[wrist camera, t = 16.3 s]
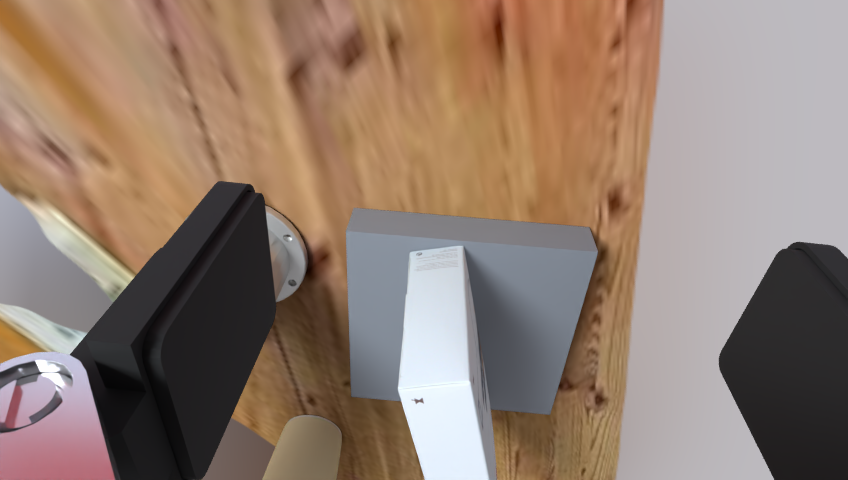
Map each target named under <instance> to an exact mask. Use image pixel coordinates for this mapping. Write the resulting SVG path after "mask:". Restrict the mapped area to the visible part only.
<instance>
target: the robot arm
mask: <svg viewBox="0 0 848 480" xmlns="http://www.w3.org/2000/svg"><path fill="white" fill-rule="evenodd" d="M307 265H308V257H307V250H306V247H305V244H304V242H303V240H302V238H301V236H300V234H299V232H298V231H297V230H296V229H295V228H294V226H293V225H292V224H291V223H290V222H289V221H288V220H287V219H286V218H285V217H284V216H282V215H281V214H280V213H278V212H277V211H275V210H273V209H272V208H270V207H268V206H266V205H265V200H264V197H263V195H262V194H261V193H255V190H254V188H253V186H252V185H251V184H242V183H233V182H223V181H219V182H217V183H216V184H215V185H214V186H213V188H212V189H211V190H210V191H209V192H208V194H207V195H206V196H205V197H204V198H203V200H202V201H201V202H200V203H199V204H198V206H197V207H196V208H195V209H194V210H193V211H192V212H191V213H190V215H189V216H188V217H187V218H186V219H185V221H184V223H183V224H182V225H181V226H180V227H179V229H178V230H177V231H176V232H175V233H174V235H173V236H172V237H171V238H170V239H169V241H168V242H167V243H166V244H165V245H164V247H163V248H160V249H159V250H158V251H157V252H156V253H155V254H154V255H153V256H152V257H151V258H150V260H149V261H148V262H147V263H146V264H145V266H144V267H143V268H142V269H141V270H140V272H139V273H138V274H137V275H136V276H135V278H134V279H133V280H132V281H131V282H130V284H129V285H128V286H127V287H126V288H125V289H124V291H123V292H122V293H121V294H120V295H119V297H118V298H117V299H116V300H115V301H114V303H113V304H112V305H111V306H110V307H109V309H108V310H107V311H106V312H105V314H104V315H103V316H102V317H101V318H100V319H99V321H98V322H97V323H96V324H95V325H94V327H93V328H92V329H91V330H90V331H89V332H88V334H87V335H86V336H85V337H84V338H83V340H82V341H81V342H80V343H79V344H78V346H77V347H76V348H75V349H74V350H73V352H72V353H71V354H70V355H69V354H63V353H58V352H39V353H32V354H28V355H24V356H20V357H16V358H13V359H11V360H8V361H6V362H4V363H1V364H0V480H202V478H203V477H204V476H205V474H206V472H207V470H208V468H209V465H210V464H211V461H212V459H213V457H214V455H215V452H216V450H217V448H218V446H219V443H220V441H221V439H222V437H223V434H224V432H225V430H226V428H227V425H228V423H229V421H230V419H231V416H232V414H233V412H234V410H235V407H236V405H237V403H238V401H239V398H240V396H241V394H242V392H243V389H244V387H245V385H246V383H247V380H248V378H249V376H250V374H251V371H252V369H253V367H254V365H255V362H256V360H257V358H258V356H259V353H260V351H261V349H262V347H263V344H264V342H265V340H266V338H267V335H268V333H269V331H270V329H271V326H272V324H273V321H274V318H275V313H276V302H279V301H281V300H284V299H285V298H287V297H289V296H290V295H292V294H293V293H294V292H295V291H296V290H297V289H298V288H299V286H300V284H301V283H302V281H303V279H304V276H305V274H306V271H307ZM719 367H720V371H721V373H722V375H723V378H724V379H725V382H726V384H727V386H728V387H729V390H730V391H731V393H732V396H733V398H734V400H735V402H736V404H737V406H738V408H739V409H740V412H741V414H742V416H743V418H744V420H745V422H746V423H747V426H748V428H749V430H750V431H751V434H752V436H753V437H754V440H755V442H756V444H757V446H758V448H759V449H760V452H761V453H762V456H763V458H764V459H765V462H766V464H767V466H768V468H769V469H770V471H771V474H772V476H773V478H774V480H848V259H847V257H846V256H844V254H843V253H842V252H841V251H840V250H839V249H837V248H836V247H834V246H831V245H823V244H814V243H804V242H796V243H793V244H791V245H790V246H789V247H788V248H787V249H782V250H781V251H779V252H778V254H777V255H776V256H775V258H774V260H773V262H772V263H771V265H770V267H769V268H768V270H767V272H766V274H765V275H764V277H763V279H762V281H761V283H760V284H759V286H758V288H757V290H756V291H755V293H754V295H753V297H752V298H751V300H750V302H749V303H748V305H747V307H746V309H745V311H744V312H743V314H742V316H741V318H740V319H739V321H738V323H737V325H736V326H735V328H734V330H733V332H732V333H731V335H730V337H729V339H728V340H727V342H726V344H725V346H724V347H723V349H722V351H721V353H720V356H719Z"/></svg>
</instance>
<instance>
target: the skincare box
mask: <svg viewBox="0 0 848 480" xmlns="http://www.w3.org/2000/svg"><path fill="white" fill-rule="evenodd" d="M403 328H404V330H403V341H402V351H401V361H400V372H399V384H398V392H399V395H400V398H401V402H402V405H403V409H404V412H405V415H406V418H407V421H408V425H409V428H410V431H411V435H412V438H413V442H414V445H415V448H416V451H417V454H418V457H419V461H420V465H421V468H422V472H423V475H424V478H425V480H497V470H496V459H495V447H494V436H493V425H492V416H491V407H490V400H489V393H488V387H487V381H486V374H485V368H484V362H483V356H482V350H481V344H480V338H479V332H478V326H477V320H476V315H475V309H474V303H473V297H472V291H471V285H470V279H469V274H468V268H467V262H466V256H465V250H464V246H452V247H444V248H436V249H428V250H421V251H413V252H410V254H409V268H408V285H407V294H406V298H405V312H404V325H403Z"/></svg>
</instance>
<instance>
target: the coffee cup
mask: <svg viewBox="0 0 848 480" xmlns="http://www.w3.org/2000/svg"><path fill="white" fill-rule="evenodd" d="M341 444H342V433H341V431H340V429H339V428H338V427H337V426H336V425H335V424H334V423H333V422H331V421H330V420H328V419H325V418H323V417H320V416H315V415H301V416H296V417H294V418H292V419H290V420H289V421H288V422H287V423H286V425H285V427H284V429H283V431H282V434H281V436H280V438H279V441H278V443H277V445H276V448H275V450H274V452H273V455H272V457H271V460H270V462H269V464H268V467H267V469H266V472H265V474H264V477H263V479H262V480H337V473H338V466H339V459H340V452H341Z"/></svg>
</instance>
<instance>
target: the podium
mask: <svg viewBox="0 0 848 480" xmlns="http://www.w3.org/2000/svg"><path fill="white" fill-rule="evenodd" d="M452 246H464V250H465V256H466V262H467V268H468V274H469V279H470V285H471V291H472V297H473V303H474V309H475V315H476V320H477V326H478V332H479V338H480V344H481V350H482V356H483V362H484V368H485V374H486V381H487V387H488V393H489V400H490V407H491V409H492V410H503V411H514V412H526V413H537V414H548V415H550V413H551V410H552V406H553V403H554V400H555V396H556V393H557V389H558V386H559V383H560V379H561V376H562V373H563V369H564V366H565V362H566V359H567V356H568V352H569V349H570V346H571V342H572V339H573V335H574V332H575V329H576V325H577V322H578V319H579V315H580V312H581V308H582V305H583V302H584V298H585V295H586V292H587V288H588V285H589V281H590V278H591V275H592V271H593V268H594V265H595V261H596V258H597V254H598V250H597V247H596V245H595V242H594V239H593V236H592V233H591V231H590V228H589V227H580V226H568V225H556V224H544V223H532V222H519V221H507V220H495V219H483V218H471V217H458V216H446V215H434V214H422V213H410V212H397V211H385V210H373V209H361V208H354V209H353V212H352V215H351V218H350V221H349V224H348V227H347V230H346V248H347V279H348V310H349V341H350V372H351V397H359V398H370V399H381V400H392V401H401V398H400V395H399V392H398V384H399V372H400V361H401V351H402V341H403V330H404V328H403V325H404V312H405V298H406V294H407V285H408V268H409V254H410V252H413V251H421V250H428V249H436V248H444V247H452Z"/></svg>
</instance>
